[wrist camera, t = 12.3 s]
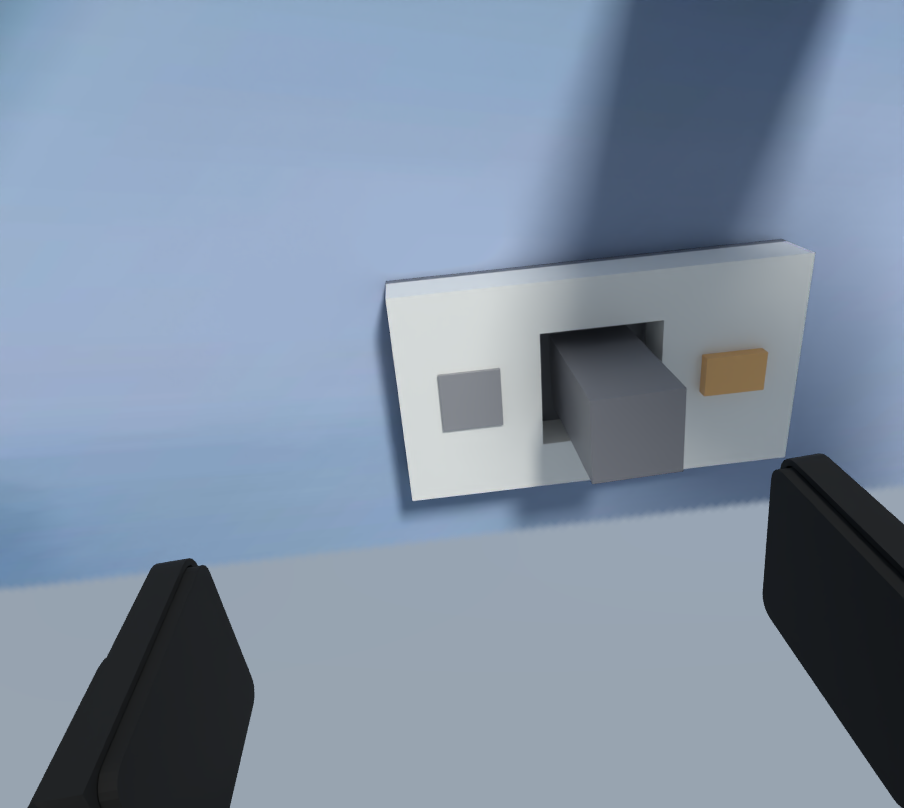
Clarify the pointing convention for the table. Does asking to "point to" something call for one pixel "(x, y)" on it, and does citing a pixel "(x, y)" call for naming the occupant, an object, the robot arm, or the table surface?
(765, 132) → the table surface
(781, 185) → the table surface
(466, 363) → the switch panel
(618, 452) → the block
